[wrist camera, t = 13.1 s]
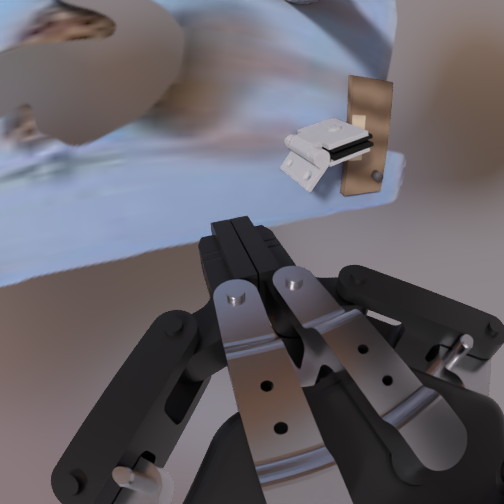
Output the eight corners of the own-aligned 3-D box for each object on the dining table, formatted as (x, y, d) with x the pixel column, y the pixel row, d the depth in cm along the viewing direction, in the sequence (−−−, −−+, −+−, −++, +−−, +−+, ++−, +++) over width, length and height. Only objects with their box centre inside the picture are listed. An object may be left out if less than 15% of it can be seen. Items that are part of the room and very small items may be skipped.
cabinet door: (348, 75, 40) (359, 76, 37) (387, 81, 42) (398, 83, 39) (340, 192, 54) (348, 199, 52) (376, 187, 56) (384, 193, 54)
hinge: (281, 171, 47) (308, 194, 40) (267, 147, 44) (293, 165, 36) (341, 131, 46) (376, 147, 38) (330, 107, 43) (366, 118, 35)
